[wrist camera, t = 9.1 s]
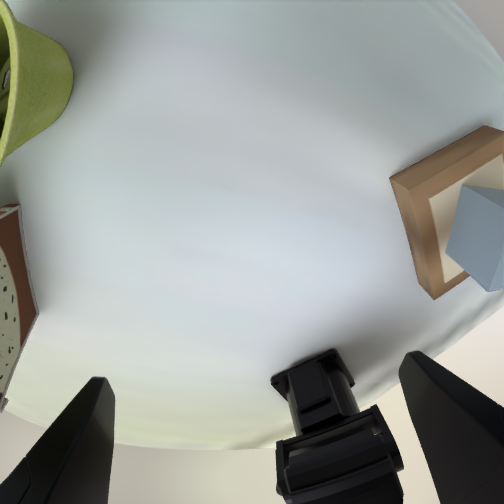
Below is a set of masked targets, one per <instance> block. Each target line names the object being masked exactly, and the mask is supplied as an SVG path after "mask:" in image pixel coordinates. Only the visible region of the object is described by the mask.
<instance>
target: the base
mask: <svg viewBox="0 0 504 504" xmlns="http://www.w3.org/2000/svg"><path fill="white" fill-rule="evenodd" d="M389 179H390V182H391V185H392V188H393V191H394V194H395V197H396V200H397V203H398V206H399V210H400V213H401V216H402V220H403V223H404V227H405V230H406V234H407V237H408V241H409V245H410V249H411V253H412V257H413V261H414V265H415V269H416V273H417V278H418V282H419V284H420V285H421V286H422V287H423V288H424V290H425V291H426V292H427V293H428V294H429V295H430V296H431V298H432V299H433V300H435V299H437V298H438V297H440V296H441V295H443V294H444V293H446V292H447V291H449V290H450V289H452V288H453V287H455V286H456V285H458V284H459V283H460V282H462V281H463V280H465V279H466V278H468V277H469V276H470V275H469V274H468V273H467V272H466V271H465V270H464V269H463V268H462V267H461V266H459V265H458V264H457V263H456V262H455V261H454V260H453V259H452V258H451V257H450V256H448V255H447V254H446V253H445V250H446V247H447V243H448V240H449V236H450V232H451V229H452V225H453V221H454V217H455V213H456V208H457V204H458V200H459V195H460V190H461V185H470V186H478V187H486V188H493V189H500V190H504V131H501V130H498V129H495V128H492V127H488V126H483V127H481V128H479V129H478V130H476V131H474V132H472V133H470V134H469V135H467V136H465V137H463V138H461V139H459V140H458V141H456V142H454V143H452V144H450V145H449V146H447V147H445V148H443V149H441V150H439V151H438V152H436V153H434V154H432V155H430V156H429V157H427V158H425V159H423V160H421V161H419V162H418V163H416V164H414V165H412V166H410V167H409V168H407V169H405V170H403V171H401V172H399V173H398V174H396V175H394V176H392V177H390V178H389Z"/></svg>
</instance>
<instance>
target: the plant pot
mask: <svg viewBox="0 0 504 504" xmlns="http://www.w3.org/2000/svg"><path fill="white" fill-rule="evenodd" d="M8 69H10V70H11V71H10V73H9V76H8V79H7V82H6V85H5V89H3V88H2V84H3V80H4V76H5V73H6V71H7V70H8ZM72 85H73V70H72V67H71V63H70V60H69V57H68V55H67V53H66V50H65V49H64V48H63V47H62V46H61V45H60V44H59V43H57V42H56V41H54V40H52V39H50V38H48V37H46V36H44V35H42V34H40V33H39V32H37V31H35V30H33V29H31V28H29V27H27V26H26V25H24V24H22V23H20V22H18V21H17V20H16V19H15V17H14V15H13V13H12V11H11V9H10V7H9V6H8V4H7V3H6V2H5V1H4V0H0V166H1V165H2V162H3V161H4V159H5V158H6V157H7V156H8V155H9V154H11V153H12V152H13V151H14V150H16V149H17V148H18V147H20V146H21V145H23V144H24V143H25V142H27V141H28V140H30V139H31V138H33V137H34V136H36V135H37V134H39V133H40V132H42V131H43V130H45V129H46V128H48V127H49V126H50V125H51V124H52V123H54V122H55V121H56V120H57V118H58V117H59V116H60V115H61V113H62V112H63V110H64V108H65V107H66V105H67V102H68V100H69V97H70V94H71V90H72Z"/></svg>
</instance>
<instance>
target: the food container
mask: <svg viewBox="0 0 504 504" xmlns="http://www.w3.org/2000/svg"><path fill="white" fill-rule="evenodd" d="M38 315H39V312H38V308H37V303H36V299H35V295H34V290H33V286H32V281H31V276H30V271H29V265H28V260H27V254H26V247H25V241H24V233H23V225H22V217H21V206H20V204H14V205H6V206H4V207H2V208H0V413H2V411H3V410H4V408H5V406H6V404H7V403H8V401H9V400H8V399H7V398H5V395H6V392H7V389H8V386H9V384H10V381H11V378H12V376H13V373H14V370H15V368H16V365H17V363H18V360H19V358H20V355H21V353H22V351H23V348H24V346H25V344H26V341H27V339H28V337H29V335H30V332H31V330H32V328H33V326H34V324H35V321H36V319H37V317H38Z"/></svg>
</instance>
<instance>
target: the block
mask: <svg viewBox="0 0 504 504" xmlns="http://www.w3.org/2000/svg"><path fill="white" fill-rule="evenodd" d="M445 253H446V254H447V255H448V256H450V257H451V258H452V259H453V260H454V261H455V262H456V263H457V264H458V265H459V266H461V267H462V268H463V269H464V270H465V271H466V272H467V273H468V274H469V275H470V276H471V277H472V278H473V279H474V280H476V281H477V282H478V283H479V284H480V285H481V286H482V287H483V288H484V289H485V290H486V291H487V292H491V291H496V290H500V289H504V190H500V189H493V188H486V187H478V186H470V185H461V190H460V195H459V200H458V204H457V208H456V213H455V217H454V221H453V225H452V229H451V232H450V236H449V240H448V243H447V247H446V250H445Z"/></svg>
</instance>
